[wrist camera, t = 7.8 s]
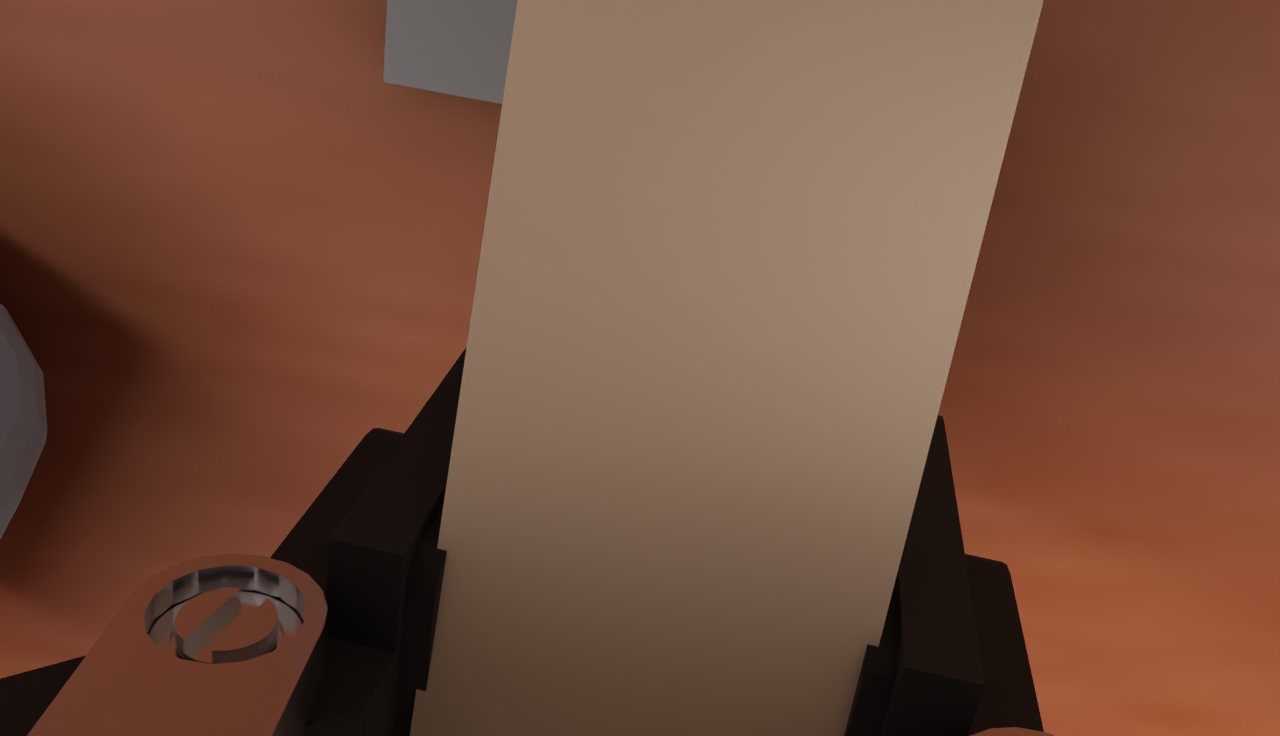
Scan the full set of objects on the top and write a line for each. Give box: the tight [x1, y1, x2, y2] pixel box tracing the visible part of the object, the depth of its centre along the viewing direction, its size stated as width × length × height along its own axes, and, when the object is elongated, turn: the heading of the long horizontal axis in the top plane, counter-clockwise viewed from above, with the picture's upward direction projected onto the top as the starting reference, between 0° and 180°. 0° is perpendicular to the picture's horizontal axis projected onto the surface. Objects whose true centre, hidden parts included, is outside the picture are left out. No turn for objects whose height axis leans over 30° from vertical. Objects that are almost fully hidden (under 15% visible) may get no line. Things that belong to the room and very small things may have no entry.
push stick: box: [410, 0, 1044, 736], centre depth 11 cm, size 12×3×5 cm, turn 171°
